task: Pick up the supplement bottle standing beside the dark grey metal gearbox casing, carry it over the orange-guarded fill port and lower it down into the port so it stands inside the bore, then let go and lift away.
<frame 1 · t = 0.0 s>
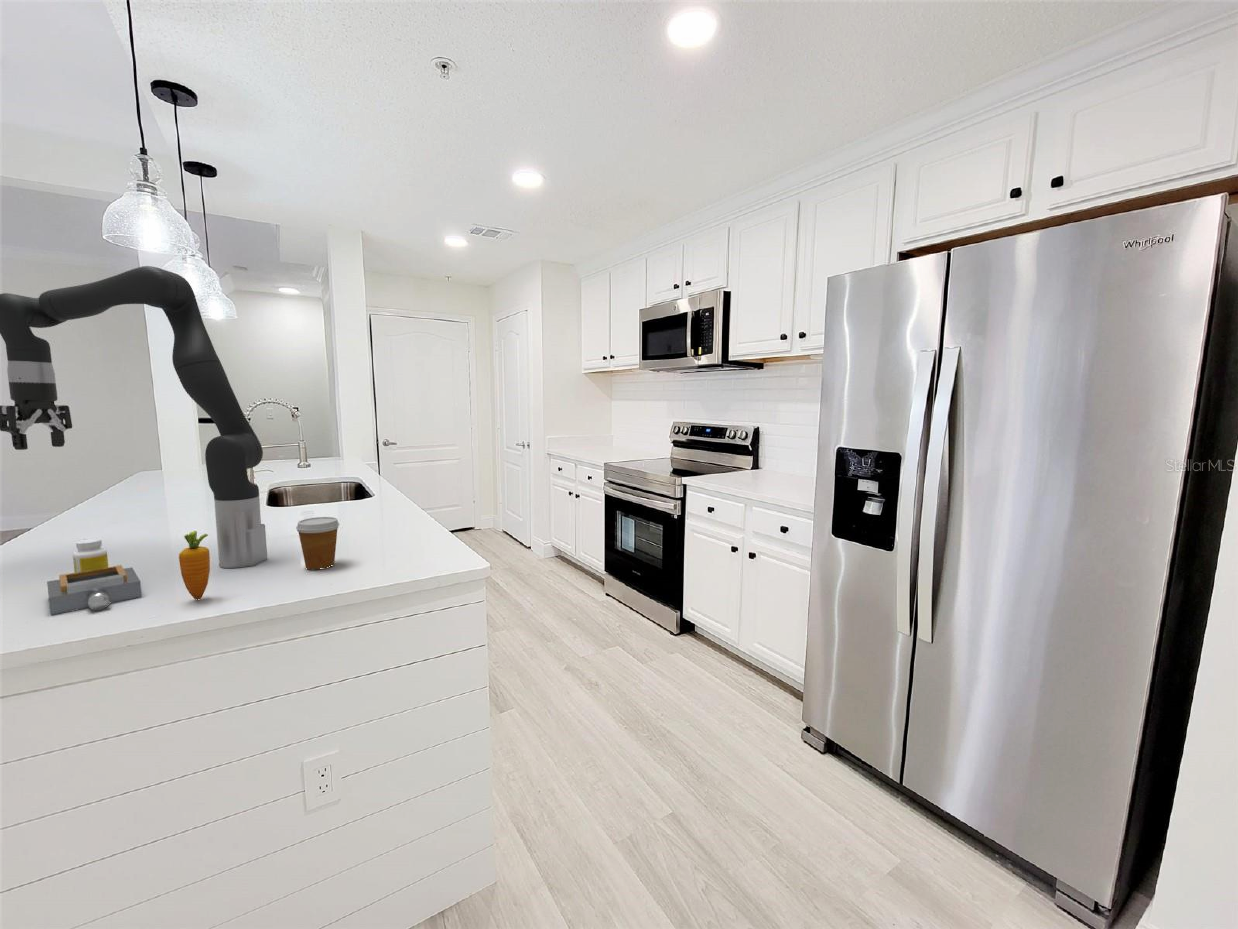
hand: (40, 448, 125), 29 cm above the countertop, tool pointing down, fingers open, 8 cm apart
disposable coffee cup: (320, 567, 130), on the countertop
supplement bottle: (93, 583, 116), on the countertop
carrot: (198, 601, 107), on the countertop
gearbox: (95, 597, 108), on the countertop
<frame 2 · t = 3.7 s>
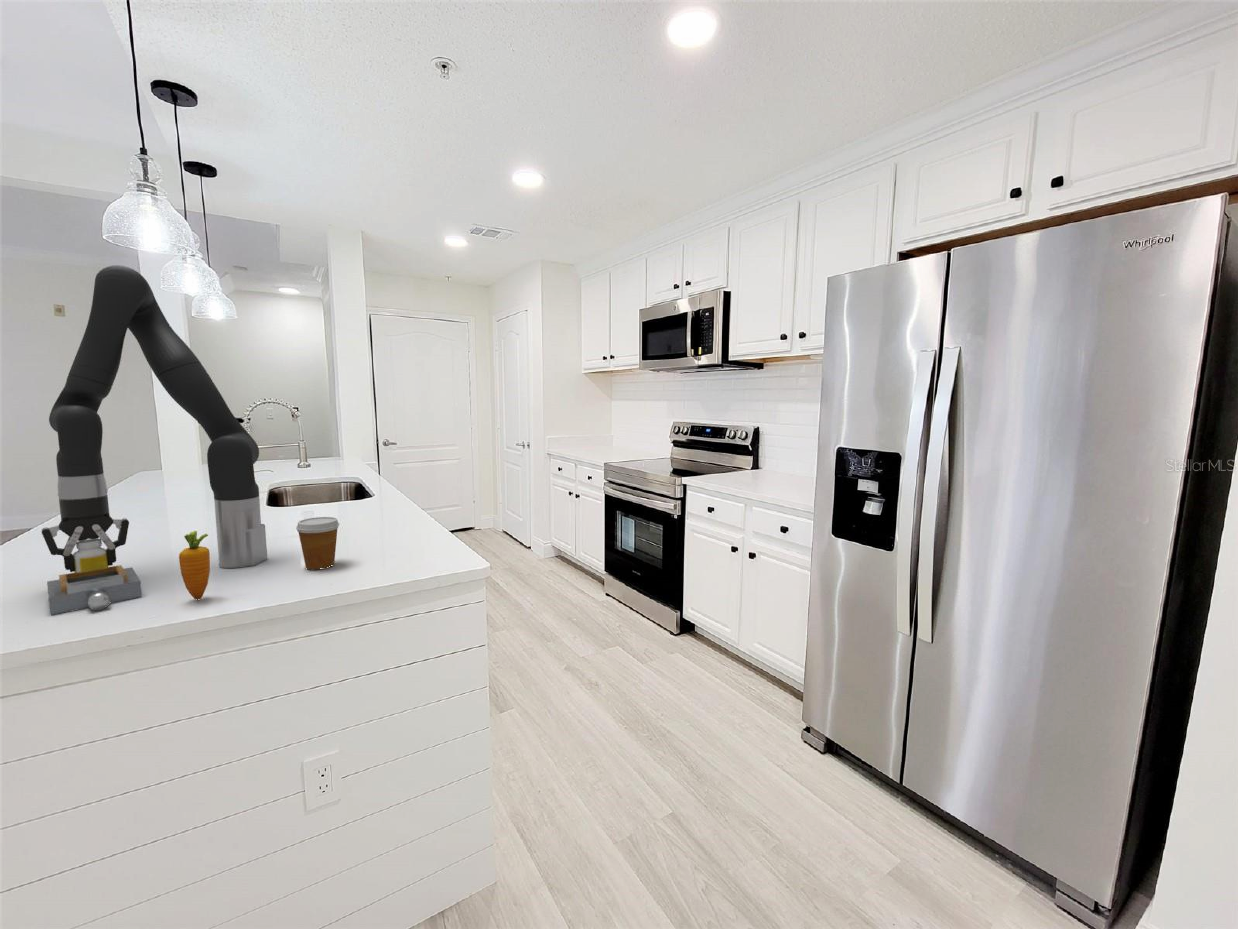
hand: (91, 567, 116), 4 cm above the countertop, tool pointing down, fingers closed on supplement bottle, 5 cm apart
supplement bottle: (93, 583, 116), on the countertop, touching gripper
everything else where it was.
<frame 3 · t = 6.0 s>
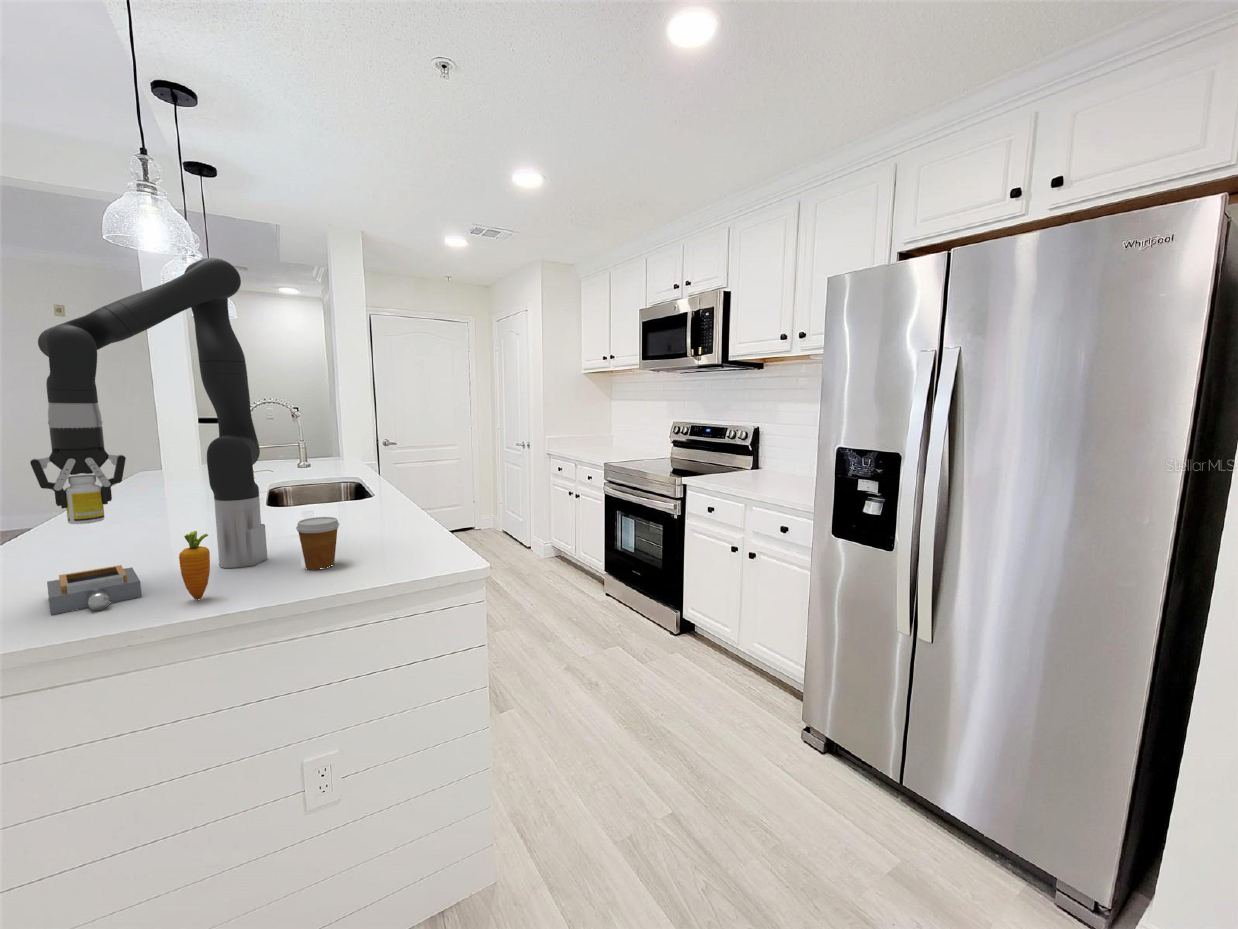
hand: (84, 505, 107), 19 cm above the countertop, tool pointing down, fingers closed on supplement bottle, 5 cm apart
supplement bottle: (86, 522, 107), point 16 cm above the countertop, touching gripper
everything else where it was.
when the fingers open (6 cm above the countertop, at t = 8.6 s): supplement bottle drops 2 cm, resting in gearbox.
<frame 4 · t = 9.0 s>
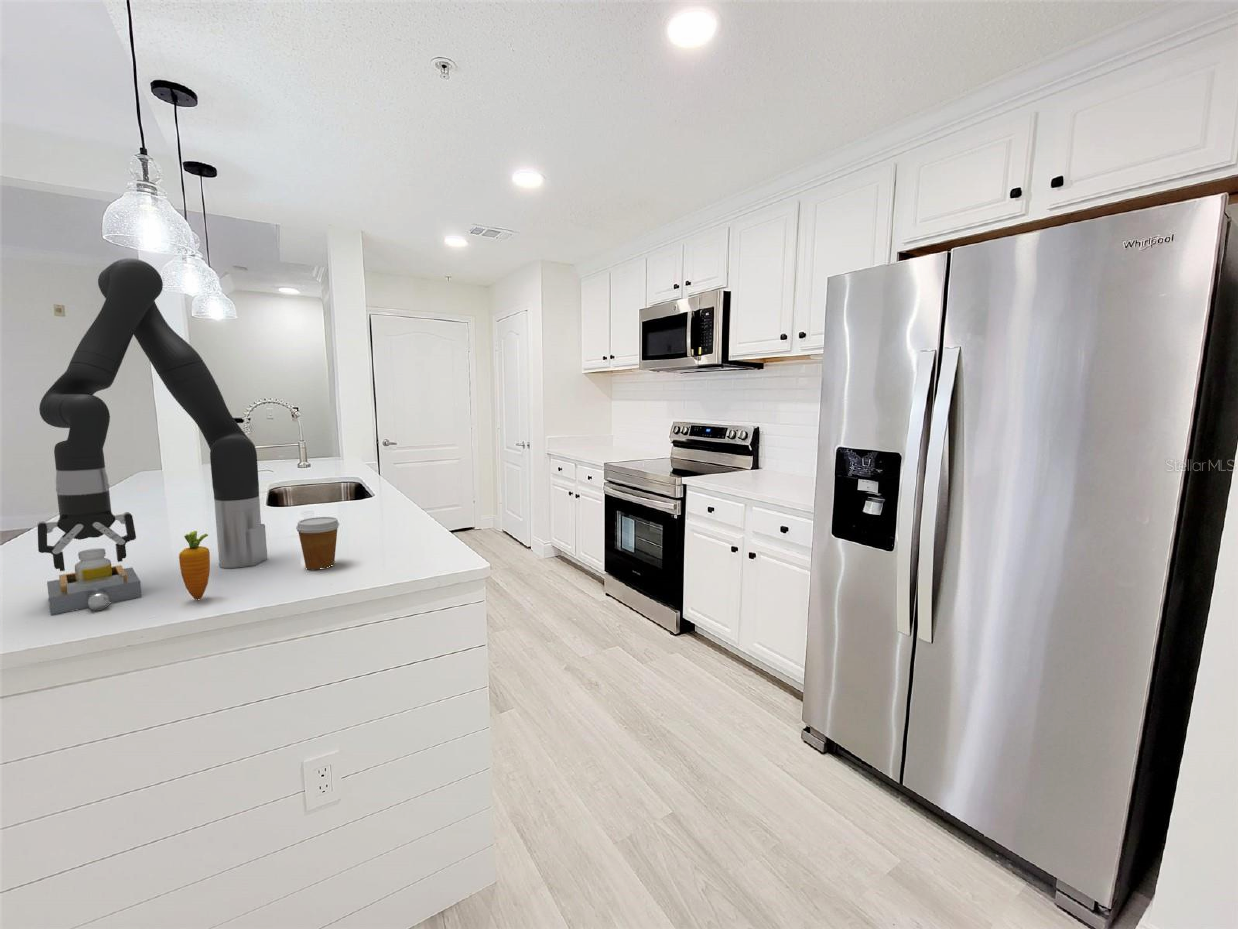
hand: (91, 565, 108), 7 cm above the countertop, tool pointing down, fingers open, 8 cm apart
supplement bottle: (96, 596, 109), resting in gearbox
everything else where it was.
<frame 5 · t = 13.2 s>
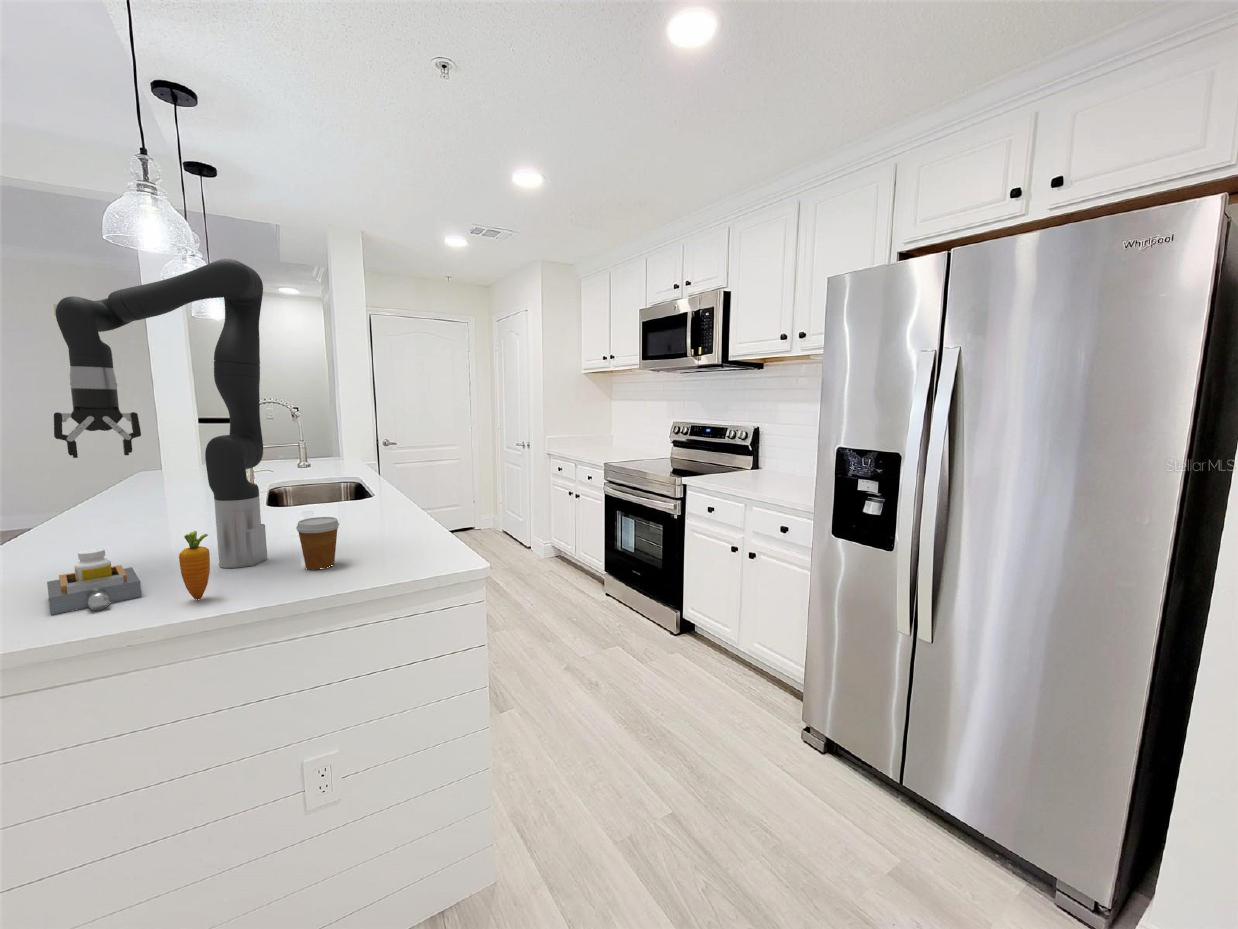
hand: (101, 456, 120), 28 cm above the countertop, tool pointing down, fingers open, 8 cm apart
nothing on the countertop moved.
at the end: supplement bottle 0.1 cm from the target spot, resting in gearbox; supplement bottle tilted 0°; the gripper is holding nothing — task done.
